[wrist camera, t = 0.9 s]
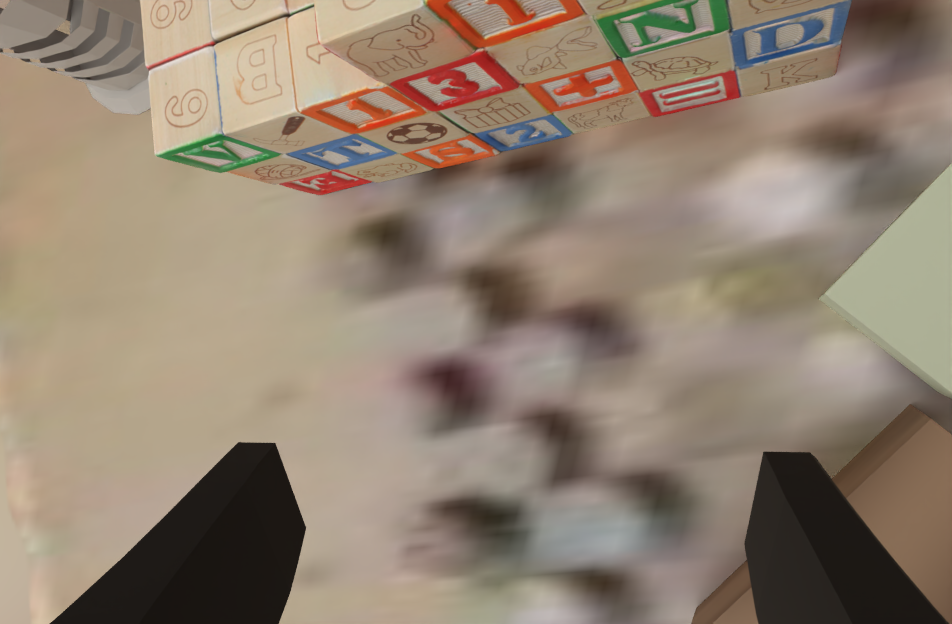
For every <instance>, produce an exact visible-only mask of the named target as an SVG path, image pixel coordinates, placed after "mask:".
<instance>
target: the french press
mask: <svg viewBox="0 0 952 624" xmlns="http://www.w3.org/2000/svg"><path fill="white" fill-rule="evenodd" d="M66 20H68V21H70V35H68V34H65V33H63V32H60V31H58V30H55V29H56V28H58V27H59V26H60V25H61V24H62V23H63V22H64V21H66ZM2 48H4V49H11V50H14V53H4V52H3V50H2ZM0 53H1V54H4V55H6V56H9V57H12V58H20V59H21V60H23V61H25V62H27V63H30V64H33V65H35V66H38V67H44V68H48V69H50V70H51V71H54V72H56V73H59V74H62V75H64V76H71V77H73V78H74V79H76V80H79V81H82V82H85V84H86V86H87V87H88V89H89V91H90V93H91V95H92V97H93V98H94V99H95V100H97V101H98V102H99V103H101V104H102V105H103V106H105V107H106V108H107V109H109V110H110V111H112V112H113V113H123V114H137V115H138V114H140V113H142V112H145V111H147V110H149V109H151V106H150V93H149V81H148V76H149V70H148V68H147V67H146V66H145V56H144V41H143V28H142V16H141V5H140V0H10V2H9V3H8V4H7V6H6V7H5V9H2V8H0ZM30 59H40V61H41V63H35V62H31V61H30ZM55 68H61V69H65V72H63V71H57V70H55Z"/></svg>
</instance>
